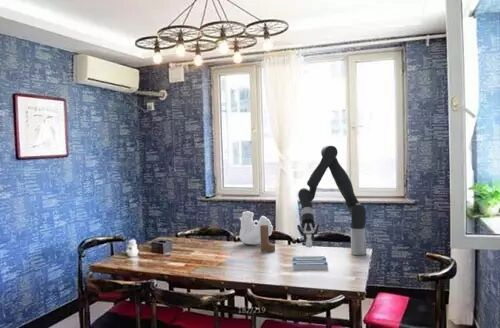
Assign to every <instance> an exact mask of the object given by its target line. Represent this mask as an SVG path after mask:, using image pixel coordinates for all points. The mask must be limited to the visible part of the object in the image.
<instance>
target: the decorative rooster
mask: <svg viewBox="0 0 500 328" xmlns="http://www.w3.org/2000/svg"><path fill="white" fill-rule="evenodd" d="M254 216H255V215H254V212H252V211H249V210H246V211H243V212H242V213H241V216H240V217H238V218H239V220H240V230H239V240H240V241H241V243H242V244H244V245H245V244H246V245H255V246H256V245H258V244H261V235H260V226H261V225H268V234H269V237H270V236H271V235H272V233H273V230H274V226H273V225H272V222H271V220H270V219H269V218H268V217H266V216H265V215H261V216H260V217H259V220H257V219H255V220H254ZM256 223H257V224H256Z"/></svg>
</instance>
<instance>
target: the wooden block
mask: <svg viewBox="0 0 500 328" xmlns="http://www.w3.org/2000/svg"><path fill="white" fill-rule="evenodd" d="M260 235H261V242H260V252H263V251H264V252H266V253H274V252H275V251H276V245H275V243H272V242H270V240H269V239H270V238H269V237H270V236H269V234H268V225H261V226H260Z"/></svg>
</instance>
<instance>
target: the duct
mask: <svg viewBox="0 0 500 328" xmlns="http://www.w3.org/2000/svg"><path fill="white" fill-rule="evenodd" d="M292 267H293V268H292V270H296V271H297V270H328V269H329V267H328V261H327V257H326V256H325V255H292Z"/></svg>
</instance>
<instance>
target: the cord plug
mask: <svg viewBox="0 0 500 328" xmlns="http://www.w3.org/2000/svg"><path fill="white" fill-rule="evenodd" d="M305 247H306V248H307V249H308V248H313V241H312V232H311V231H306V241H305Z"/></svg>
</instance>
